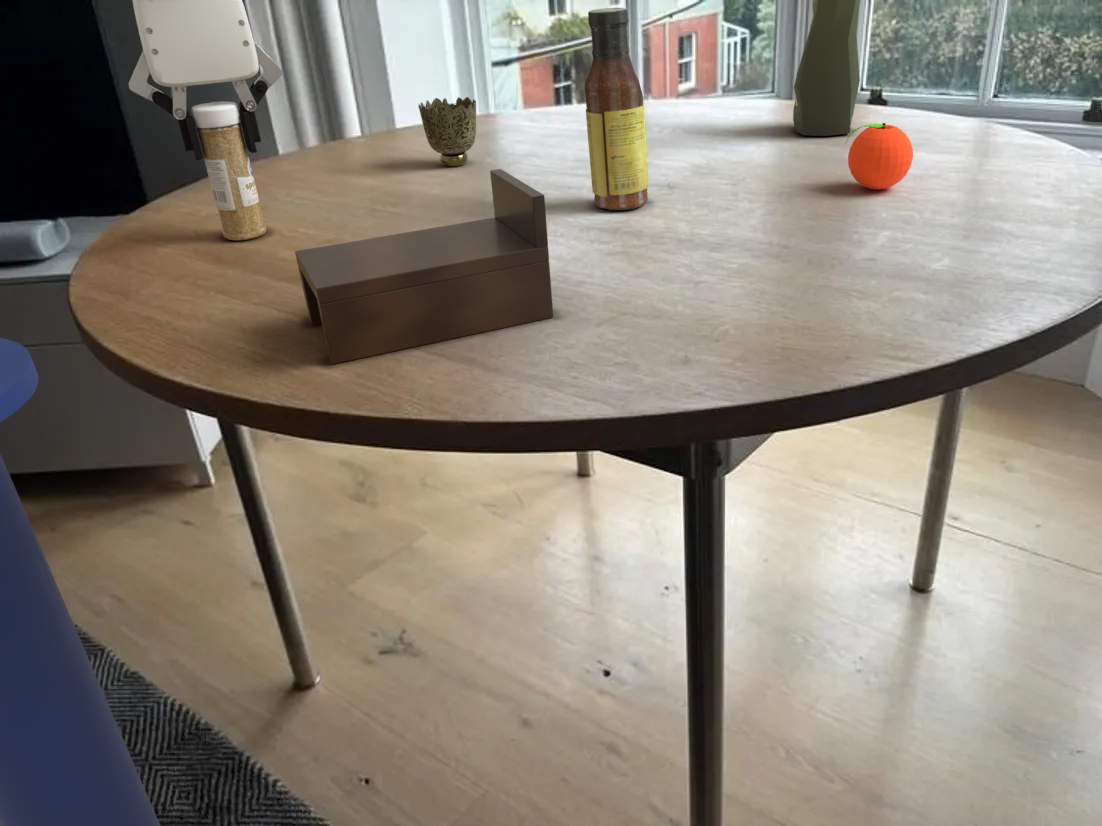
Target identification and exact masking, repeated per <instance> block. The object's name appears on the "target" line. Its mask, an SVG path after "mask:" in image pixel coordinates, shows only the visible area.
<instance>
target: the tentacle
mask: <svg viewBox="0 0 1102 826" xmlns="http://www.w3.org/2000/svg"><path fill="white" fill-rule="evenodd" d="M860 2H861V0H812V14H813V16H812V19H811V23H810V27H809V32H808V35H807V38H806V41H805V45H804V48H803V51H802V55H801V59H800V62H799V64H798V65H799V66H798V69H797V72H796V77H795V81H794V85H793V90H794V105H793V110H792V111H793V113H792V114H793V115H792V121H793V126H794V130H795V132H796V133H798V134H800V135H802V136H820V137H823V136H824V137H830V136H834V135H835V136H836V135H844V134H850V133H851V125H852V121H853V118H854V117H853V116H854V113H855V107H856V103H857V97H858V92H859V87H860V81H861V77H860V65H859V51H858V39H857V37H858V36H857V31H858V21H859V20H858V19H859V11H860Z"/></svg>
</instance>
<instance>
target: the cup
mask: <svg viewBox="0 0 1102 826" xmlns="http://www.w3.org/2000/svg"><path fill="white" fill-rule="evenodd" d="M455 101H456V102H455V103H453V102H451V103H449V102H448V99H447V98H446V97H443V99H442V100H441V99H440V98H438V97H435V98H434V99H433V101H432V102H430V101H429V100H428V99H427V100H426V101H425V104H424V102H422V101H421V102H420V103H418V110H419V114H420V118H421V123H422V127H423V130H424V134H425V137H426V141H427V142H428V145H429V146H430V148H431V149H432V150H433V151H435V153H438V154H440V157H439V161H440V163H441V164H442V165H443V166H445V167H461V166H463V165H465V164H466V163H467V162H468V159H469V156H468V153H467V152H468V151H469V150H471V149H472V147H473V145H474V143H475V141H476V135H477V100H475V98H473V100H471V98H470V97H469V96H466V97H465V98H464V99H462V97H459V96H458V97H457V99H455Z"/></svg>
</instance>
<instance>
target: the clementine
mask: <svg viewBox="0 0 1102 826" xmlns="http://www.w3.org/2000/svg"><path fill="white" fill-rule="evenodd" d="M862 128H865V129H864V130H863V131H861V132H859V134H857V136H856V137H855V139H853V141H852V143H851V145H850V148H849V151H848V155H847V165H848V166H847V167H848V168H849V172H850V175H852V177H853V179H854V180H855V181H856V182H857V183H858V184H860V185H861V186H862V187H865V188H868V189H870V190H874V191H875V190H879V191H880V190H885V189H888V188H892V187H893V186H895V185H897V184H898V183H900V182H901V181H902V180H903V179H904V178H905V177H906V176H907V174H908V172H909V171H910V169H911V167H912V163H913V160H914V148H913V144H912V142H911V140H910V138H909V136H908V135H907V134H906V132H904V131H903V130H901V128H899V127H898V126H896V125H891V124H887V123H886V122H882V123H881V124H880V123H870V124H865V125H862V126H860V127H857V128H855V129H854V130H852V131H850V133H849V134H848V136H847V138H846V140H845V143H844V144H847V142H848V140H849V138H850V137H851V135H852V134H853V133H855V132H856V131H857V130H859V129H862Z"/></svg>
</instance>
